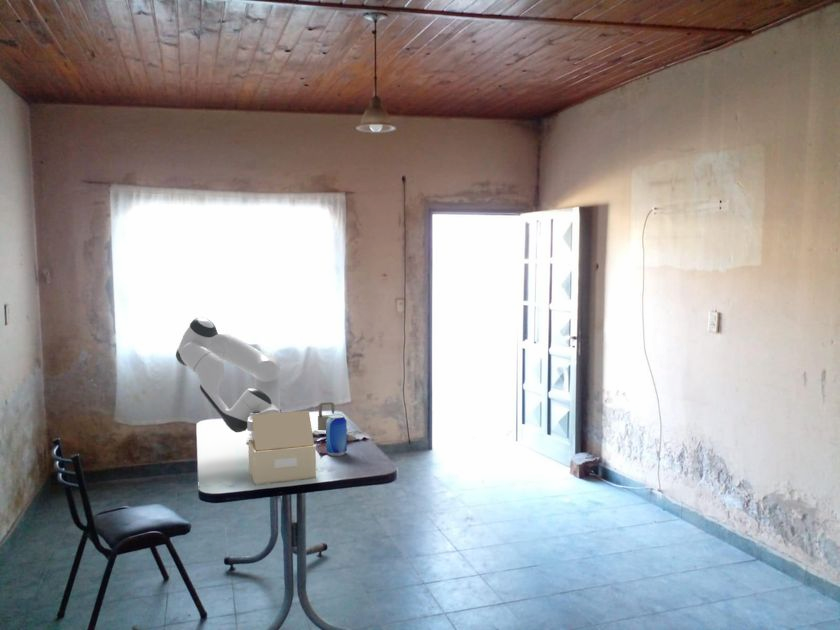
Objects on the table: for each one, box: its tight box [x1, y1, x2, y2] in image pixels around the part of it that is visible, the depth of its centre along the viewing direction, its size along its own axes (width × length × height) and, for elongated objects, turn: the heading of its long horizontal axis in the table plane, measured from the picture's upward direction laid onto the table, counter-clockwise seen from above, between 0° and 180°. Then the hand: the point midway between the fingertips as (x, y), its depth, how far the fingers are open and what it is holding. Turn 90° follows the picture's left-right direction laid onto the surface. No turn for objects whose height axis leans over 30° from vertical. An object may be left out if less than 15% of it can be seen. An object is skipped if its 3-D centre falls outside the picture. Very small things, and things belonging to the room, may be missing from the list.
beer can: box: [325, 413, 348, 457], centre depth 278 cm, size 8×8×16 cm
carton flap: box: [252, 410, 315, 451], centre depth 245 cm, size 14×21×1 cm
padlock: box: [317, 401, 336, 431], centre depth 312 cm, size 4×8×15 cm, turn 103°
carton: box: [248, 440, 317, 486], centre depth 250 cm, size 18×22×12 cm
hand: (277, 427), depth 246 cm, fingers closed
